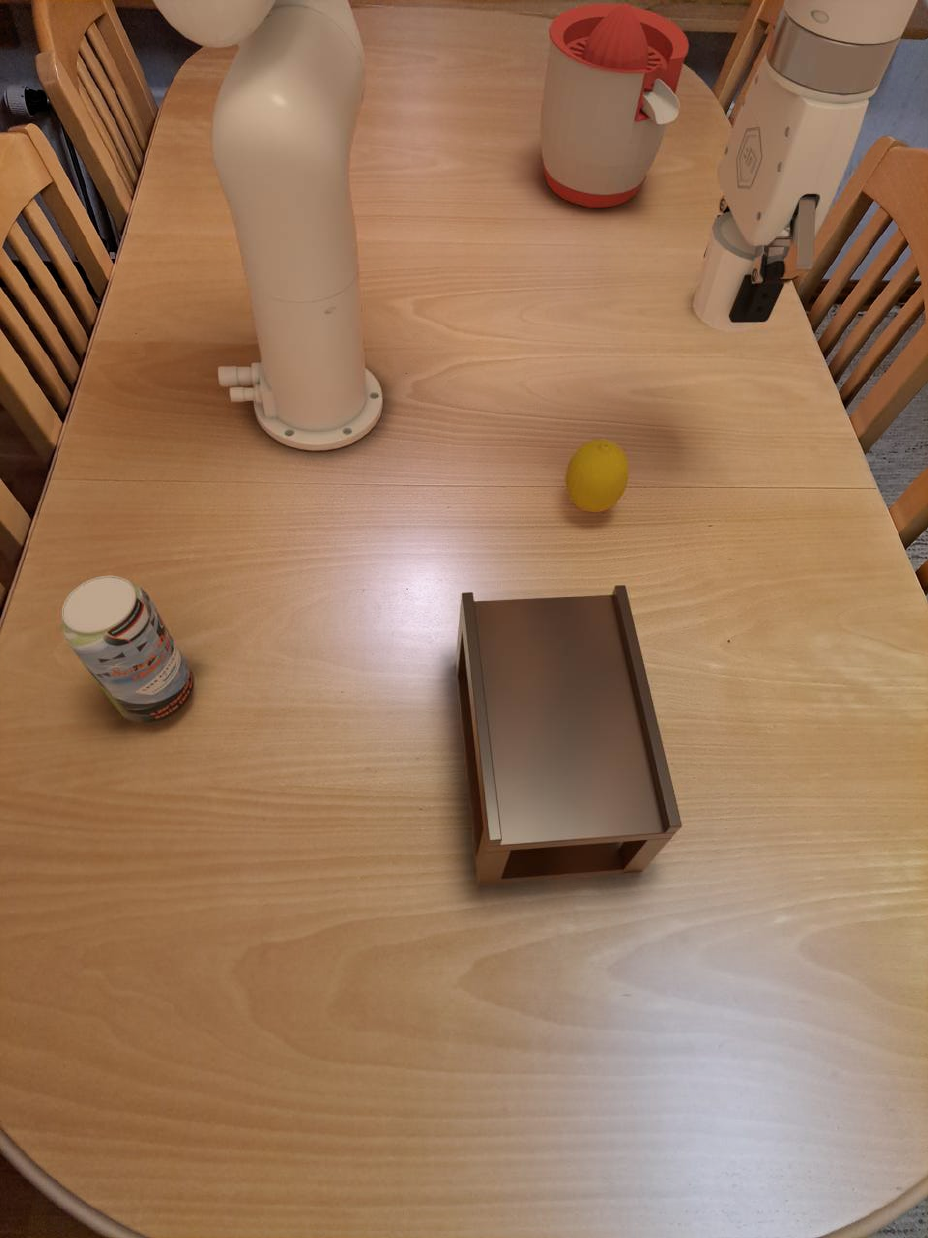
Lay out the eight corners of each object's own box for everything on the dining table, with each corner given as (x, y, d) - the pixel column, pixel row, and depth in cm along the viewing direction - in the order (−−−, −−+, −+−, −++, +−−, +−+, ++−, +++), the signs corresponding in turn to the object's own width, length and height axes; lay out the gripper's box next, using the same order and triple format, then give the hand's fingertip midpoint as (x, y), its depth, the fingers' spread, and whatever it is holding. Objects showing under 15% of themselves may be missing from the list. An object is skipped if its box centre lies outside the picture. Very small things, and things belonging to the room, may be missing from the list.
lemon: (579, 536, 76) (595, 477, 69) (548, 494, 78) (561, 433, 71) (629, 516, 77) (650, 457, 70) (597, 475, 80) (615, 414, 73)
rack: (477, 885, 58) (489, 841, 50) (455, 662, 68) (461, 592, 59) (642, 871, 60) (682, 826, 51) (598, 654, 69) (625, 584, 60)
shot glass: (766, 344, 68) (802, 268, 62) (683, 328, 68) (711, 252, 62) (765, 292, 71) (799, 216, 66) (687, 278, 72) (713, 201, 66)
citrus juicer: (598, 242, 99) (637, 59, 83) (505, 173, 106) (523, -9, 89) (686, 200, 105) (739, 21, 88) (593, 138, 112) (625, -40, 95)
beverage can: (160, 745, 63) (111, 669, 52) (88, 697, 64) (28, 615, 54) (215, 683, 66) (179, 601, 55) (146, 639, 67) (99, 551, 57)
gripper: (736, -14, 57) (665, 226, 72) (819, 120, 48) (718, 363, 63) (838, -11, 58) (746, 226, 73) (939, 122, 49) (811, 361, 64)
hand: (734, 288), depth 68 cm, fingers closed on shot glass, 6 cm apart
